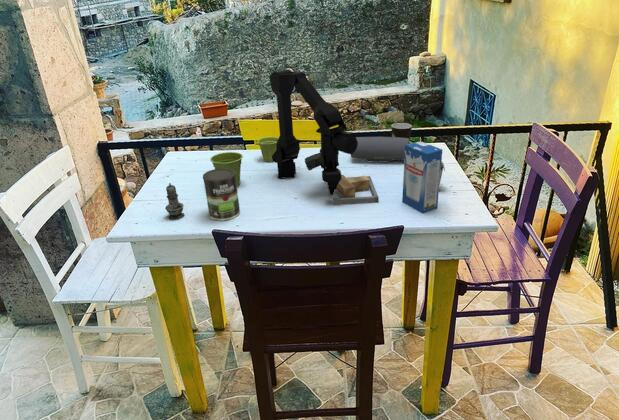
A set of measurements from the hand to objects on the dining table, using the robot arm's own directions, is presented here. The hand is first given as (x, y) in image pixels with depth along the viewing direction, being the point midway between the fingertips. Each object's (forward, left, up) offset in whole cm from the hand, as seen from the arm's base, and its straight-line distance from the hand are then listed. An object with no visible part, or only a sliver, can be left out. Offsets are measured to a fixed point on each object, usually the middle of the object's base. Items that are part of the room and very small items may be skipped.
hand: (330, 189), depth 159 cm
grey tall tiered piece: (-52, -11, -2) cm, 53 cm away
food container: (+34, +1, -2) cm, 34 cm away
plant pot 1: (-37, +12, -2) cm, 39 cm away
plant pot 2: (-23, +37, -2) cm, 44 cm away
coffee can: (-36, -11, -2) cm, 38 cm away
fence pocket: (+7, 0, -2) cm, 7 cm away
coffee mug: (+34, +44, -2) cm, 56 cm away
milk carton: (+28, -13, -2) cm, 31 cm away
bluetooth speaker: (+22, +29, -2) cm, 37 cm away
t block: (+8, +1, -2) cm, 8 cm away
